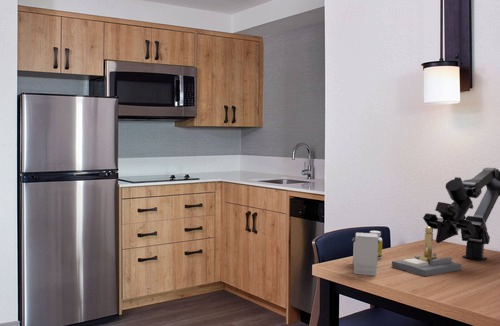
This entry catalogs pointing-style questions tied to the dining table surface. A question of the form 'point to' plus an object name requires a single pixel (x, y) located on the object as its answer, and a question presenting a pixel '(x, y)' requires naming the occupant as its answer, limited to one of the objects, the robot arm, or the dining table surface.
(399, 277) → the dining table surface
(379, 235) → the supplement bottle
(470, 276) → the dining table surface
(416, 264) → the cover
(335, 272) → the dining table surface
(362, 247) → the supplement box
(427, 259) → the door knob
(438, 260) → the lock plate
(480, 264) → the dining table surface
